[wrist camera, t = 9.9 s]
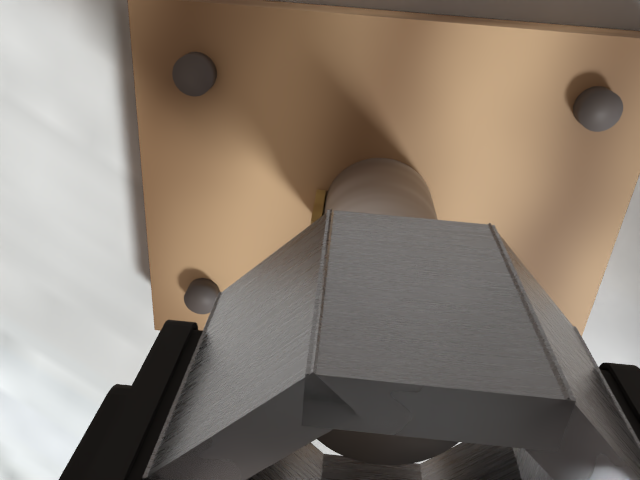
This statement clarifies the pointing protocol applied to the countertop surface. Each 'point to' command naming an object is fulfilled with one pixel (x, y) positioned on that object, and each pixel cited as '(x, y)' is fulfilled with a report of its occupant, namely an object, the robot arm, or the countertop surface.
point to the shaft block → (377, 143)
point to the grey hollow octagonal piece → (393, 364)
